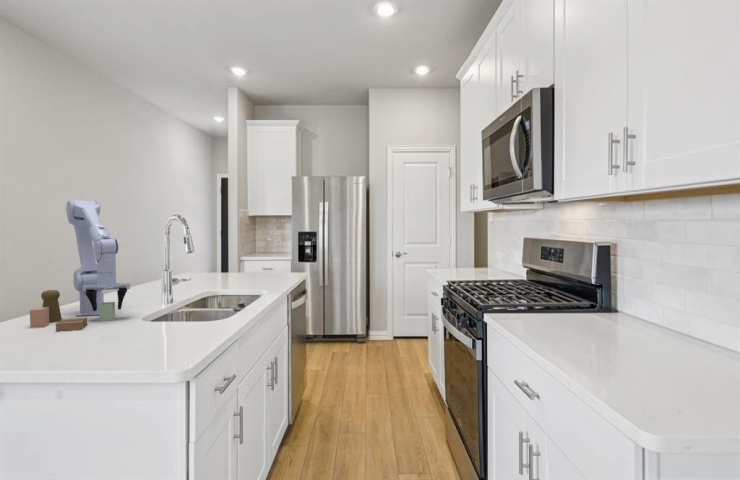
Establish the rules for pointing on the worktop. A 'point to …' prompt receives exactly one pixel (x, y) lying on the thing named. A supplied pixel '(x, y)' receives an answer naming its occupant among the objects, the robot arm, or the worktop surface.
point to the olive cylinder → (52, 304)
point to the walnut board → (71, 324)
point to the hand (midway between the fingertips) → (107, 309)
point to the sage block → (107, 311)
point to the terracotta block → (39, 317)
